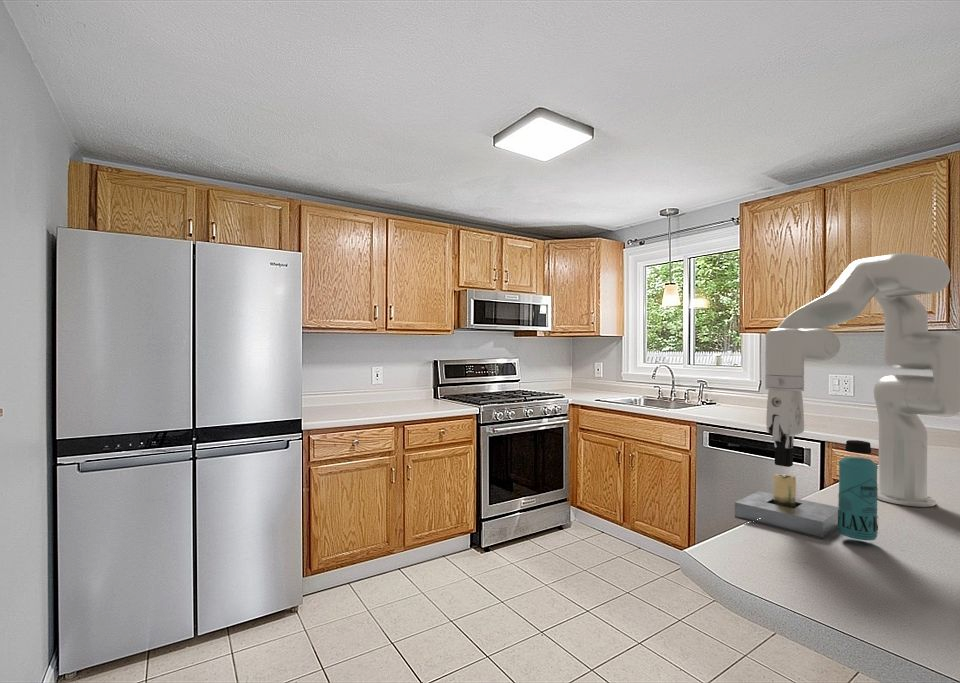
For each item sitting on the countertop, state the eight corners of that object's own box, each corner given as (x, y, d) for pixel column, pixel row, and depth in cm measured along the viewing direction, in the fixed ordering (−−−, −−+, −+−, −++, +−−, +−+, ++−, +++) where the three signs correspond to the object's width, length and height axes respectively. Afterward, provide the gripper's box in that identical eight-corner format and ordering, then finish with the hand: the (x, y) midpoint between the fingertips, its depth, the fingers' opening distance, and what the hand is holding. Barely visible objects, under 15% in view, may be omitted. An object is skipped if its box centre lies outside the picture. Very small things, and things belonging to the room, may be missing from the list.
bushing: (798, 516, 115) (798, 476, 115) (791, 520, 112) (792, 479, 112) (777, 512, 118) (777, 472, 118) (770, 515, 115) (771, 475, 115)
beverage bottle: (829, 538, 103) (829, 438, 103) (852, 534, 105) (852, 437, 106) (863, 550, 97) (863, 444, 97) (886, 546, 99) (886, 442, 99)
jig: (758, 505, 124) (758, 490, 125) (842, 523, 112) (842, 507, 112) (734, 517, 115) (734, 502, 115) (822, 539, 102) (822, 521, 102)
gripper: (791, 385, 107) (790, 473, 107) (814, 383, 117) (813, 463, 117) (753, 383, 113) (752, 467, 113) (778, 381, 123) (777, 458, 123)
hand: (783, 465), depth 115 cm, fingers closed
